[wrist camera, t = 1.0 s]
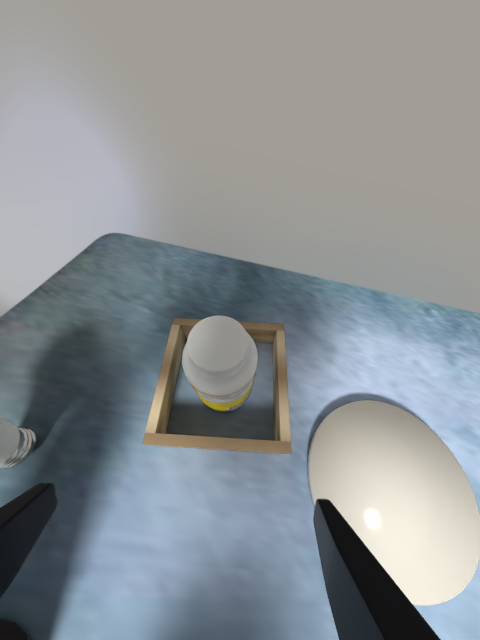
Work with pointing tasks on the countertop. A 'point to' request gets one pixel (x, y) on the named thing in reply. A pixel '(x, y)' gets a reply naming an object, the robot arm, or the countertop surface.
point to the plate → (399, 496)
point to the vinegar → (11, 631)
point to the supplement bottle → (220, 362)
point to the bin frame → (281, 445)
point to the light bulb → (14, 444)
